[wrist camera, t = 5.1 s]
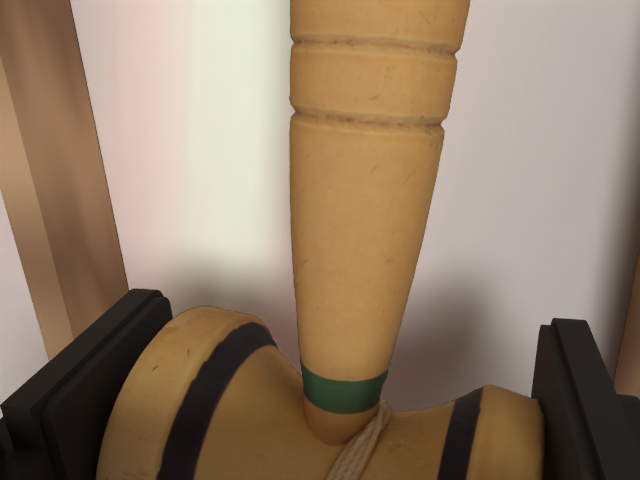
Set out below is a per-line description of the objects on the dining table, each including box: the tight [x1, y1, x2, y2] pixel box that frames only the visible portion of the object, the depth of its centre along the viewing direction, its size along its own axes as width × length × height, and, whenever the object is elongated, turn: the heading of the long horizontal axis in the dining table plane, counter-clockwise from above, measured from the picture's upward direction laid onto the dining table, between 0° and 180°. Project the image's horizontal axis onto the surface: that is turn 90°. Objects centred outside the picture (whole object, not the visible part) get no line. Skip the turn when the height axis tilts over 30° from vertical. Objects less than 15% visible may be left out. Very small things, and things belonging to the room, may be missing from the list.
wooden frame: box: [0, 0, 640, 400], centre depth 15 cm, size 25×17×3 cm
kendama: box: [96, 0, 545, 480], centre depth 10 cm, size 8×6×18 cm
